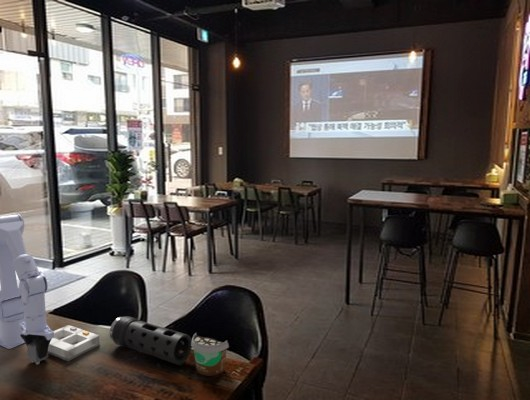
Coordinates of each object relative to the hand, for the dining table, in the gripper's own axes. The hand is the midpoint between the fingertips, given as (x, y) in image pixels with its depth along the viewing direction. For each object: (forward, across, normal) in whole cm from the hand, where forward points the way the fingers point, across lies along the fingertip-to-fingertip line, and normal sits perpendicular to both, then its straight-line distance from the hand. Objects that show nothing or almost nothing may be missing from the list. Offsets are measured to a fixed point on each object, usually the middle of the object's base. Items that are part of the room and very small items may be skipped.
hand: (38, 355), depth 129 cm
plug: (+2, 0, 0) cm, 2 cm away
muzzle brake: (+2, +27, +20) cm, 34 cm away
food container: (+2, +49, +22) cm, 54 cm away
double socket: (+2, 0, +10) cm, 11 cm away
